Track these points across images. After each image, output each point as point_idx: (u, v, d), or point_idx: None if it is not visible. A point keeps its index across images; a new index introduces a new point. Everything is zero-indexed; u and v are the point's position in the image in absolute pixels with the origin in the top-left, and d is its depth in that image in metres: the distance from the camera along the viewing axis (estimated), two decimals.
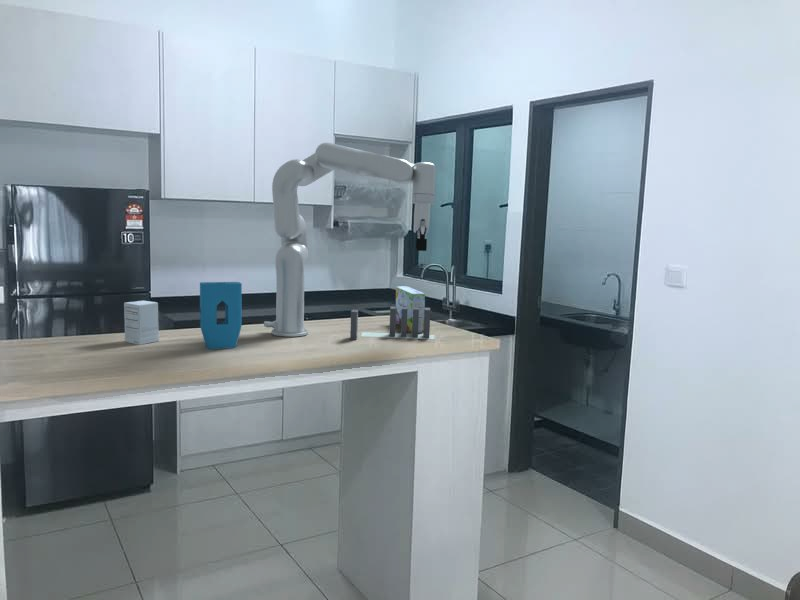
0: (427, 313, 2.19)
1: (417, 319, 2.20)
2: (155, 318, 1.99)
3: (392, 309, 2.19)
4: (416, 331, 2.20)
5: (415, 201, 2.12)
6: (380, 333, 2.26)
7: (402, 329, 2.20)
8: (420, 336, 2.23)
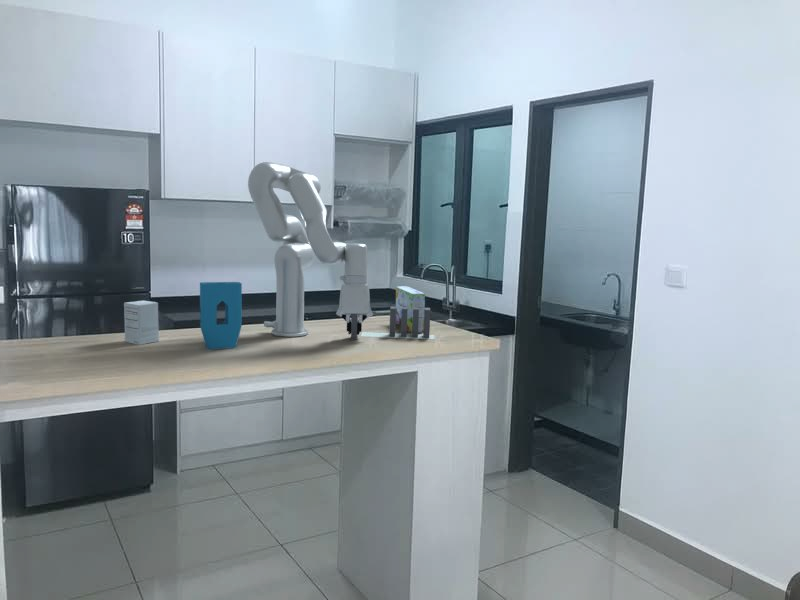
0: (427, 313, 2.19)
1: (417, 319, 2.20)
2: (155, 318, 1.99)
3: (392, 309, 2.19)
4: (416, 331, 2.20)
5: (362, 283, 2.10)
6: (380, 333, 2.26)
7: (402, 329, 2.20)
8: (420, 336, 2.23)
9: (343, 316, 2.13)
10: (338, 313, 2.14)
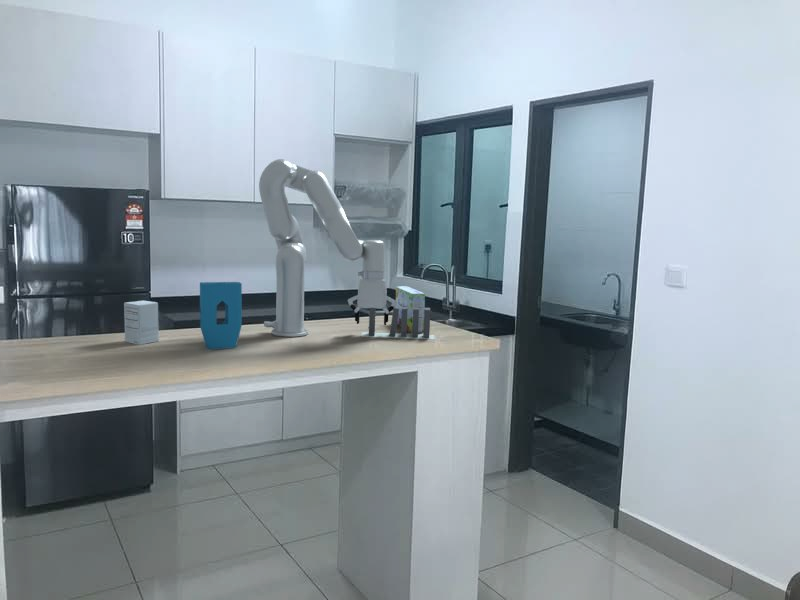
0: (427, 313, 2.19)
1: (417, 319, 2.20)
2: (155, 318, 1.99)
3: (396, 309, 2.19)
4: (416, 331, 2.20)
5: (380, 278, 2.18)
6: (380, 333, 2.26)
7: (402, 329, 2.20)
8: (420, 336, 2.23)
9: (351, 306, 2.21)
10: (349, 301, 2.21)
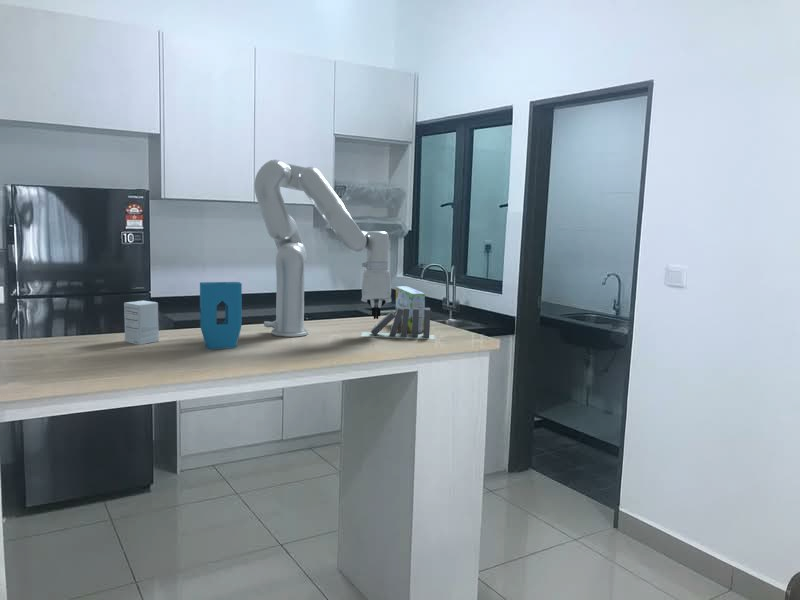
0: (427, 313, 2.19)
1: (417, 319, 2.20)
2: (155, 318, 1.99)
3: (400, 310, 2.19)
4: (416, 331, 2.20)
5: (384, 269, 2.17)
6: (380, 333, 2.26)
7: (403, 329, 2.20)
8: (420, 336, 2.23)
9: (368, 301, 2.21)
10: (363, 299, 2.21)
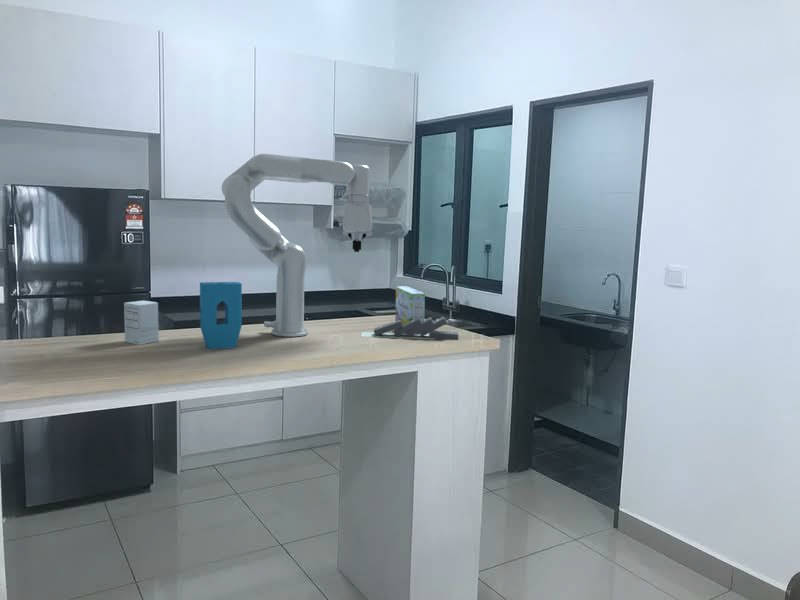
0: (454, 337, 2.20)
1: (437, 327, 2.20)
2: (155, 318, 1.99)
3: (419, 321, 2.20)
4: (426, 332, 2.20)
5: (364, 202, 2.22)
6: None
7: (413, 330, 2.20)
8: (420, 336, 2.23)
9: (349, 234, 2.26)
10: (344, 233, 2.26)
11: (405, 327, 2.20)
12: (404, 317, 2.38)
